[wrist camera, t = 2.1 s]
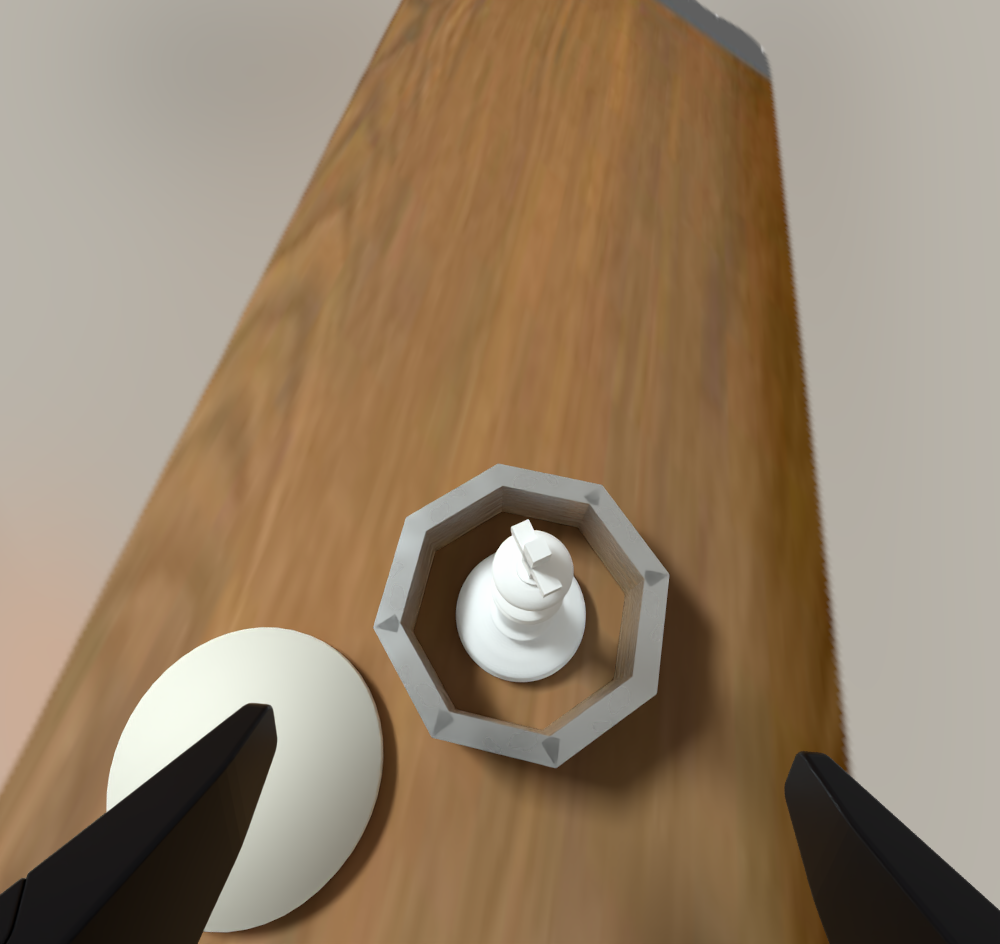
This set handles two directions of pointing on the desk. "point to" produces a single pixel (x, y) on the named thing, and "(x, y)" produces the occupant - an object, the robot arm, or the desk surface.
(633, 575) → the ring collar
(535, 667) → the chess piece
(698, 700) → the desk surface
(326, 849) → the felt pad
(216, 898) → the robot arm
